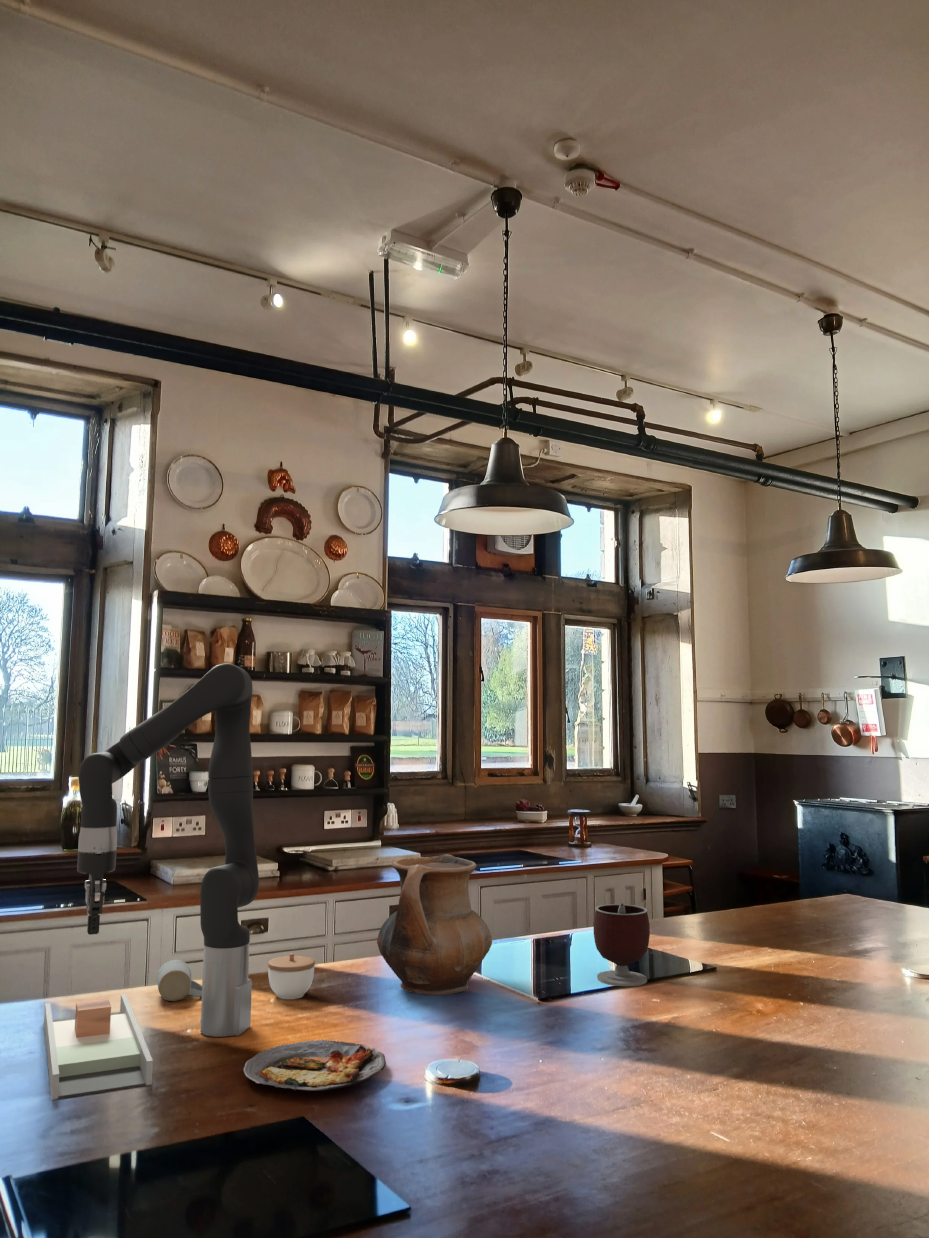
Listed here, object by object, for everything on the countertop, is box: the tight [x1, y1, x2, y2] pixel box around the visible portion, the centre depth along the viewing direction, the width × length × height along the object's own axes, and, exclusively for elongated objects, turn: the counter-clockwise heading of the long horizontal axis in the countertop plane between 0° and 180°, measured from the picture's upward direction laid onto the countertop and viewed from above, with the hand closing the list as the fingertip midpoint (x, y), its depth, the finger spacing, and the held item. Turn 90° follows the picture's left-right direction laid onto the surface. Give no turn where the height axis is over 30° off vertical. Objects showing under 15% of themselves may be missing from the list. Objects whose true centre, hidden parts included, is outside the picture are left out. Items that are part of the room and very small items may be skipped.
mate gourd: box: [593, 902, 651, 987], centre depth 231 cm, size 16×14×20 cm
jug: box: [376, 853, 493, 996], centre depth 226 cm, size 32×28×30 cm
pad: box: [56, 1037, 140, 1077], centre depth 171 cm, size 10×14×2 cm
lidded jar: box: [267, 952, 316, 1000], centre depth 215 cm, size 11×11×9 cm
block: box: [74, 998, 112, 1038], centre depth 182 cm, size 6×6×5 cm
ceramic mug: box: [156, 959, 202, 1002], centre depth 213 cm, size 11×8×8 cm
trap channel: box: [43, 993, 154, 1101], centre depth 178 cm, size 44×16×4 cm, turn 26°
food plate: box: [243, 1039, 387, 1092], centre depth 167 cm, size 25×23×4 cm
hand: (93, 933), depth 192 cm, fingers closed
